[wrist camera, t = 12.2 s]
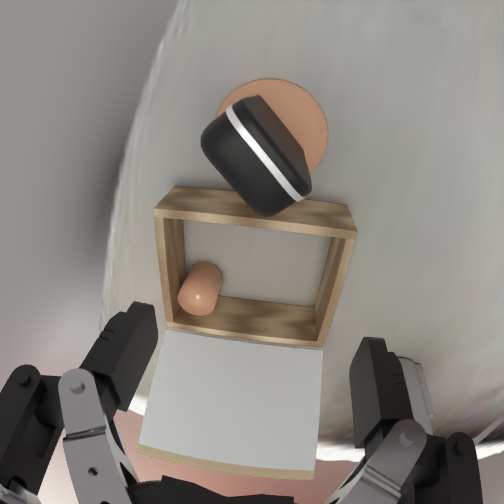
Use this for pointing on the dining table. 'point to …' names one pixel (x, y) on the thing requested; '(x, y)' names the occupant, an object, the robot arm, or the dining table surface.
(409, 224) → the dining table surface
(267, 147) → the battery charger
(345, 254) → the wooden box
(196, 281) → the peach rounded capsule
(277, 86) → the saucer
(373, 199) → the dining table surface
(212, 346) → the lid
